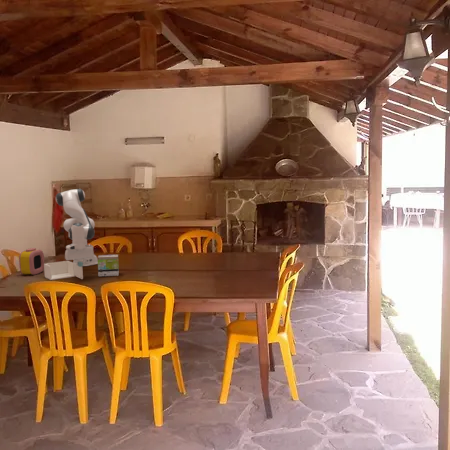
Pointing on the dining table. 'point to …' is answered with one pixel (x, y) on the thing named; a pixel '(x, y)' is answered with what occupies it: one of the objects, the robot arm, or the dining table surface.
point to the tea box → (108, 265)
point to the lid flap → (78, 270)
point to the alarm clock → (31, 261)
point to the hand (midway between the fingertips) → (80, 264)
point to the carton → (59, 270)
